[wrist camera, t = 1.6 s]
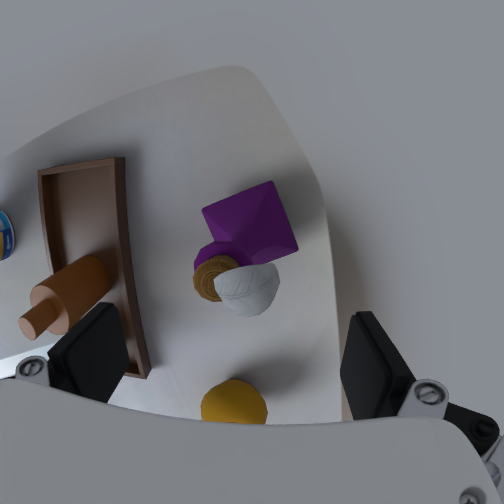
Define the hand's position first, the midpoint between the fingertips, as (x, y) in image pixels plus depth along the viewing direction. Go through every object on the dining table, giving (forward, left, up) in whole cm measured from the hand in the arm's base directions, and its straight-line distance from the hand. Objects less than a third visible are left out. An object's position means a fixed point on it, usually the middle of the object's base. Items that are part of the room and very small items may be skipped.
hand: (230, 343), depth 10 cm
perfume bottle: (0, 0, -22) cm, 22 cm away
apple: (+24, -2, -22) cm, 32 cm away
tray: (+7, -21, -22) cm, 31 cm away
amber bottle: (+7, -21, -21) cm, 31 cm away
